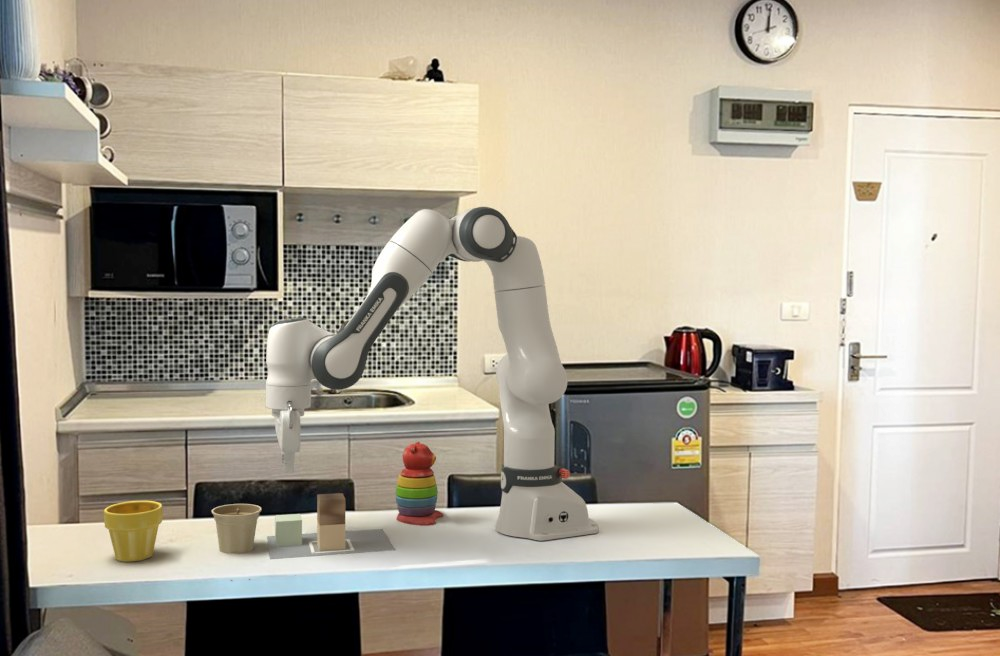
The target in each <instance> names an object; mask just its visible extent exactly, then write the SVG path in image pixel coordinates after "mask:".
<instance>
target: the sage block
mask: <svg viewBox="0 0 1000 656" xmlns="http://www.w3.org/2000/svg"><path fill="white" fill-rule="evenodd" d="M274 531H275V532H274V536H275V542H276V547H278V546H293V545H302V534H303V518H302V516H301V513H296V514H295V513H294V514H276V515H274Z"/></svg>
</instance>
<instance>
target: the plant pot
mask: <svg viewBox="0 0 1000 656" xmlns="http://www.w3.org/2000/svg"><path fill="white" fill-rule="evenodd" d="M103 518H104V519H103V521H104V527H105V529H106V530H108V533H109V536H110V541H111V545H112V548H113V553H114V556H115V560H117V561H118V562H122V563H123V562H127V563H130V562H132V563H133V562H139V561H144V560H148V559H150V558H151V557H152V556H153V555H154V552H155V551H154V550H155V546H156V545H155V544H156V542H157V535H158V529H159V526H160V524H162V523H163V504H162V503H161V502H159V501H158V502H157V501H152V500H133V501H132V500H131V501H123V502H118V503H115V504H111V505H109V506H107V507H106V508H104V510H103Z"/></svg>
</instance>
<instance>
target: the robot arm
mask: <svg viewBox="0 0 1000 656" xmlns="http://www.w3.org/2000/svg"><path fill="white" fill-rule="evenodd" d="M448 256H449V257H452V258H454V259H456V260H458V261H462V262H467V263H468V262H473V263H474V262H475V263H476V262H485V263H486V265H487V266H488V268H489V269H490V272H491V275H492V279H493V281H492V282H493V291H494V292H493V293H494V299H495V307H496V308H495V309H496V317H497V325H498V329H499V332H500V333H501V335H502V338H503V342H504V346H505V349H506V354H505V355H504V356H503V357H501V359H500V360H499V361H498V363H497V364H496V365H497V366H496V368H495V375H496V377H495V378H496V380H497V385H498V393H499V402H500V408H501V415H502V425H503V464H501V472H500V488H501V501H500V508H499V512H498V513H499V514H498V517H497V520H496V521H497V522H496V524H495V530H496V531H497V532H498V533H500V534H502V535H507V536H510V537H515V538H516V537H517V538H524V539H529V540H535V541H549V540H557V539H563V538H564V539H565V538H570V537H579V536H584V535H592V534H598V533H599V531H600V528H599V525H598V524H599V523H597V522H596V521H594V520H593V519H592V518H590V517H589V513H588V512H589V511H588V507H587V503H586V501H585V500H584V498H582V496H580V495H579V494H577V492H575V491H574V490H573V489H571V488H570V487H569V486H568V485H566V484H565V483H564V482H563V479H564V480H568V479H569V478H570V477H571V473H570V471H569V470H568V469H566V468H562V467H559V466H558V465H556V464H555V435H556V434H555V433H556V431H555V427H554V424H553V422H552V417H551V412H550V404H553V403H556V402H557V401H558V400H560V399H561V398H562V397H563V396H564V394H565V392H566V390H567V387H568V375H567V372H566V369H565V367H564V366H563V364H562V361H561V357H560V353H559V350H558V346H557V343H556V340H555V336H554V332H553V329H552V325H551V322H550V316H549V315H550V314H549V307H548V306H549V305H548V299H547V298H548V297H547V290H546V282H545V275H544V270H543V266H542V261H541V258H540V255H539V251H538V248H537V246H536V244H535V242H534V241H533V240H531V239H530V238H527V237H526V236H520V235H519V236H518V235H517V234H516V232H515V231H514V229H513V228H512V227H511V226H510V223H509V222H508V220H507V218H506V217H505V216H504V214H503V213H502V212H501V211H499V210H497V209H495V208H493V207H489V206H479V207H473V208H468V209H466V210H464V211H462V212H461V213H459V214H456V215H454V216H452V217H449V218H447V217H446V216H445V215H443V214H442V213H441V212H439V211H437V210H433V209H429V208H424V209H420V210H418V211H417V212H415V213H414V214H413V215H412V216H411V217H409V219H408V220H407V221H406V222H405V223H403V224H402V226H401V227H400V228H399V229H398V230H397V231H396V232H395V233H394V234H393V236H392V237H391V238H390V239H389V241H387V243H386V244H385V245H384V247H383V248H382V250H381V251H380V253H379V255H378V256H377V259H376V260H375V263H374V265H373V266H372V269H371V270H372V271H371V283H370V286H369V287H370V289H369V291H368V293H367V295H366V297H365V298H364V300H363V302H362V303H361V305H360V306H359V307H358V309H357V310H356V311H355V313H353V315H352V316H351V318H350V320H349V321H348V322H347V324H346V325H345V326H344V327H343V329H341V331H339V332H338V333H337V334H336V333H334V332H331V331H329V330H326V329H324V328H322V327H320V326H318V325H316V324H314V323H313V322H311V321H310V320H309V319H308V318H306V317H294V318H287V319H282V320H278V321H277V322H275V323H273V324H272V325H271V327H270V328H269V330H268V335H267V342H266V353H265V354H266V357H265V358H266V361H265V363H266V366H267V378H266V380H265V408H267V409H270V410H271V416H272V417H273V418H274V428H275V434H276V437H277V441H278V445H279V448H280V452H281V454H280V455H281V462H282V463H283V471H284V472H285V473H289V474H290V473H293V472H294V469H295V467H294V466H295V458H296V453H298V452H300V450H301V417H304V416H305V409H309V408H311V407H312V403H311V402H312V380H313V379H314V380H315V379H316V380H317V382H318V383H319V384H321V386H323V387H325V388H327V389H330V390H336V391H337V390H339V391H340V390H341V391H342V390H345V389H348V388H350V387H352V386H354V385H355V384H357V382H358V381H359V380H361V377H362V376H363V373H364V371H365V368H366V364H367V359H368V355H369V352H370V350H371V348H372V346H373V344H374V343H375V342H376V340H377V339H378V337H379V336H380V335H381V333H382V332H383V330H384V329H385V328H386V326H387V325H388V323H389V322H390V320H391V319H392V318H393V316H394V315H395V314H396V312H397V311H398V310H399V309H400V308H401V307H402V306H403V305H404V304H405V303H406V302H407V301H408V300H409V299H410V298H411V297H412V296H413V295H414V294H416V292H418V290H420V289H421V287H422V286H423V285H424V284H425V282H427V281H428V279H429V277H431V275H432V274H433V273H434V271H435V270H436V268H438V265H439V264H440V263H441V261H443V260H444V259H445V258H446V257H448Z"/></svg>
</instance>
